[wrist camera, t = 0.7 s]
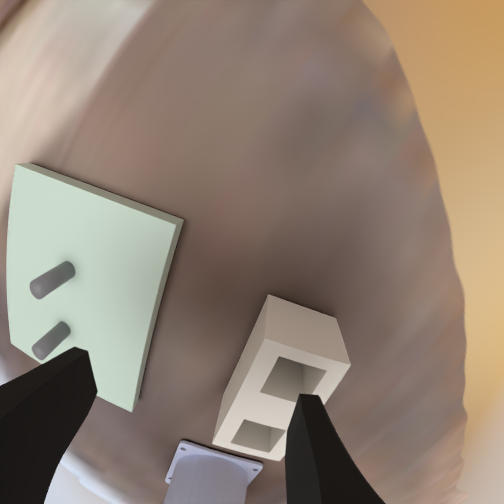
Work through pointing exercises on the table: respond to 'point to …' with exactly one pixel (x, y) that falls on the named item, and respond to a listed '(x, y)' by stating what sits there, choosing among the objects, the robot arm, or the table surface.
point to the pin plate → (86, 276)
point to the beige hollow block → (279, 376)
